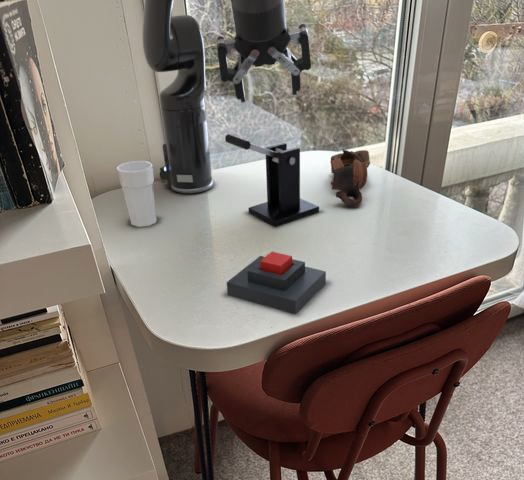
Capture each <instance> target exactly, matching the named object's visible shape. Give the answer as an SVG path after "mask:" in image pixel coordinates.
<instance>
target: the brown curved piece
mask: <svg viewBox="0 0 524 480" xmlns="http://www.w3.org/2000/svg"><path fill="white" fill-rule="evenodd" d="M353 152H354V153H355V152H357V153H360V154H361V155H362V156H363V157H364V159H365V162H366V166H367V169H368V168H369V167H370V165H371V160H370V159H371V158H370V152H369V150H366V149H361V150H360V149H359V150H357V151H353ZM342 155H343V152H342V153H337V154H334V155H332V156H331V157H330V161H332V160H336V159H338V158H341V156H342ZM355 159H357V158H356V157H354V158H352V159H344V160H341V161H342V163H343V165H348V164H353V161H354V160H355ZM330 171H331V172H330V173H331V174H334V173H333V169H332V165H331V164H330Z"/></svg>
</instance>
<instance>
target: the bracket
mask: <svg viewBox="0 0 524 480" xmlns="http://www.w3.org/2000/svg"><path fill="white" fill-rule="evenodd" d="M287 147H288V144H287V142H286V143H285V142H280V143H277V144H273V145H270V146H265V148H266V149H269V150H271V151H274V152H275V150H276V148H278V149H280V150H283V151H280V152H278V163H277V162H274V161H272V159H273V157H271V156H268V155H265V173H266V175H265V176H266V177H265V178H266V200H267V201H265V202H262V203H259V204H256V205H253V206H252V205H251V206H249V207H248V214H249V215H251V216H253V217H255V218H257V219H259V220H261V221H263V222H265V223H267V224H268V225H271V226H272V227H274V228H276V227H280V226H282V225H283V226H284V225H285V224H288V223H291V222H294V221H297V220H301V219H302V218H307V217H309V216H311V215H315V214H318V213H319V212H320V206H319V205H316V204H314V203H312V202H309V201H307V200H305V199H303V198H301V148H300V147H297V146H296V147H292V148H287Z"/></svg>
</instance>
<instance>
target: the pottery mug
mask: <svg viewBox="0 0 524 480" xmlns="http://www.w3.org/2000/svg"><path fill="white" fill-rule="evenodd" d="M354 152H355V153H354ZM342 153H343V155H342V156H341V158H338V159H336V160H332V161H331V160H330V166H331V165H332V169H333V173H332V174H333V178H332V181H331V182H330V185H331V190H332V191H336V192H335V197H336V198H338V199H340V201H341V202H342V203H343V204H344V205H346V206H348V207H351V208H355V207H357V206H359V205H360V204H362V202H363V194H362V192H361V189H363V188H364V187H365V185H366V183H367V180H368V168H367V166H366V162H365V159H364V157H363V156H362V155H361V154H360V153H357V152H356V151H353V150H346V149H342ZM354 157H356V158H357V159H355V160H354V161H353V164H348V165H343V163H342V161H341V160H344V159H352V158H354Z"/></svg>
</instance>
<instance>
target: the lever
mask: <svg viewBox="0 0 524 480" xmlns="http://www.w3.org/2000/svg"><path fill="white" fill-rule="evenodd" d="M224 140H225V142H226V143H227V144H230V145H232V146H236V147H238V148H240V149H243V150H246V151H247V150H248V151H249V150H251V151H254V152H257V153H260V154H263V155H265V156H266V155H268V156H271V157H273V159H272V161H274V162H277V163H278V152H280V151H283V150H280V149H278V148H276V150H275V152H274V151H271V150H269V149H266V147H262V146H260V145H257V144H254V143H252V142H250V141H249V140H246V139H244V138H241V137H238V136H236V135H233V134H230V133H227V134H226V135H225V137H224Z"/></svg>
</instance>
